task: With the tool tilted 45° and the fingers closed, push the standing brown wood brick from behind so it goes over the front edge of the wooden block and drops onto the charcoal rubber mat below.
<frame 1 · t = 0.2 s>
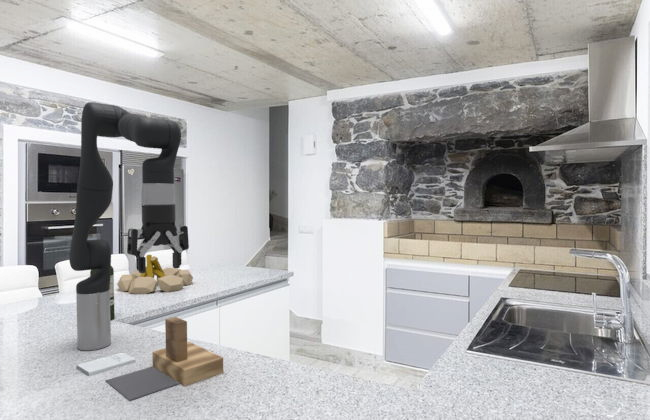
hand: (159, 270, 102), 29 cm above the countertop, tool pointing down, fingers open, 8 cm apart
external hard drive: (106, 367, 118), on the countertop
brown wood brick: (176, 357, 113), point 4 cm above the countertop, touching wooden block
campfire: (156, 287, 220), on the countertop
mat: (142, 382, 107), on the countertop
wooden block: (187, 369, 115), on the countertop
wine bottle: (103, 320, 162), on the countertop
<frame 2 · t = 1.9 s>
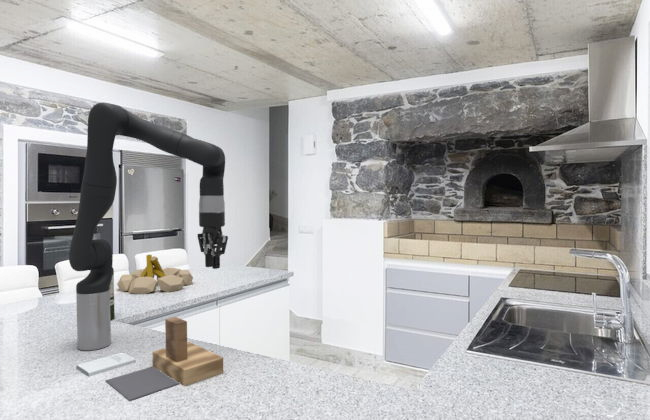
hand: (212, 267, 129), 25 cm above the countertop, tool pointing down, fingers open, 3 cm apart
nothing on the countertop moved.
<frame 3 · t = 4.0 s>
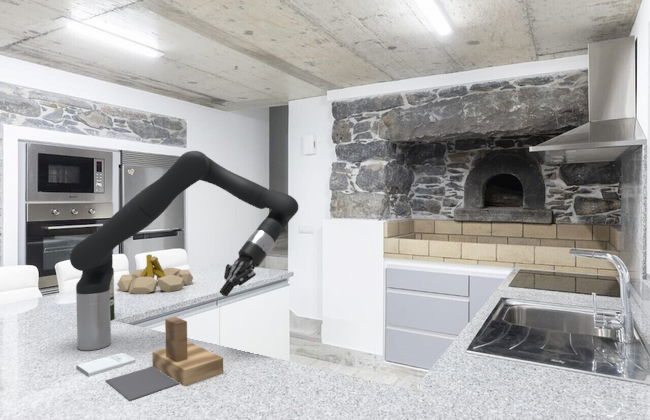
hand: (222, 294, 123), 18 cm above the countertop, tool tilted 45°, fingers closed
nothing on the countertop moved.
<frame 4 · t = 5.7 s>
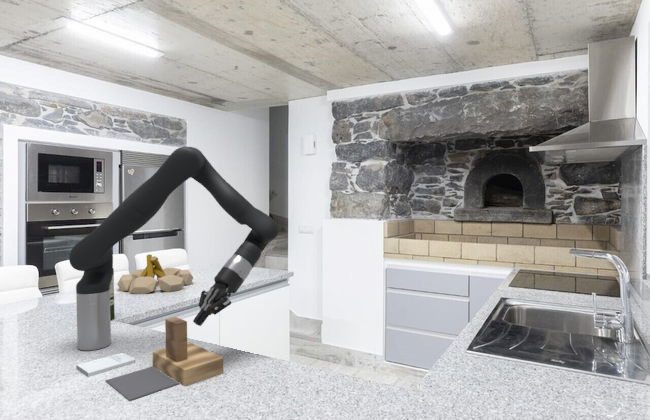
hand: (196, 323, 117), 12 cm above the countertop, tool tilted 45°, fingers closed
nothing on the countertop moved.
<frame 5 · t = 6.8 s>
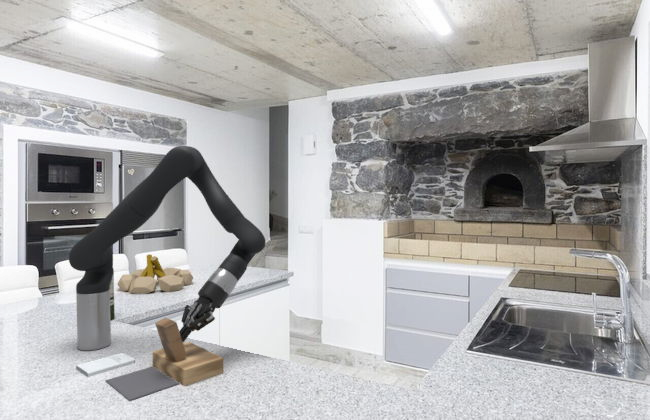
hand: (178, 340, 113), 8 cm above the countertop, tool tilted 45°, fingers closed
brown wood brick: (176, 356, 113), point 4 cm above the countertop, tilted 16°, touching wooden block
everything else where it was.
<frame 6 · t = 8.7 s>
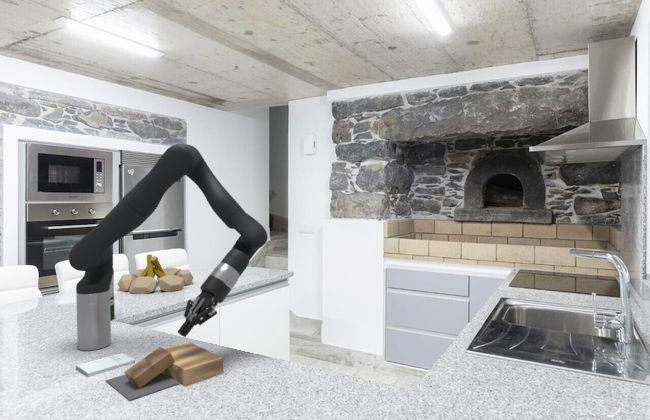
hand: (181, 334, 114), 10 cm above the countertop, tool tilted 45°, fingers closed
brown wood brick: (167, 354, 111), point 6 cm above the countertop, tilted 113°, touching wooden block, mat
everything else where it was.
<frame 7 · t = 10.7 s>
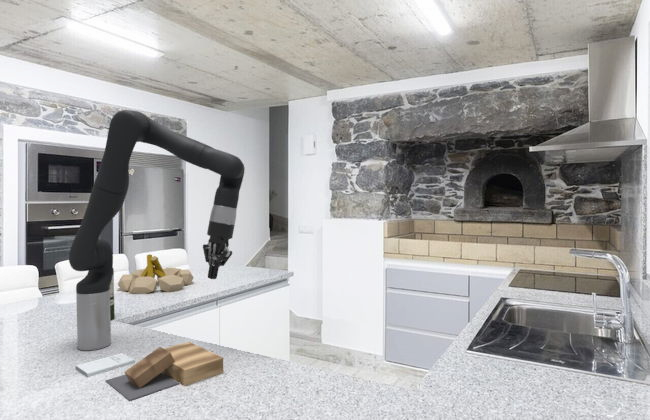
hand: (211, 278, 128), 22 cm above the countertop, tool pointing down, fingers closed
nothing on the countertop moved.
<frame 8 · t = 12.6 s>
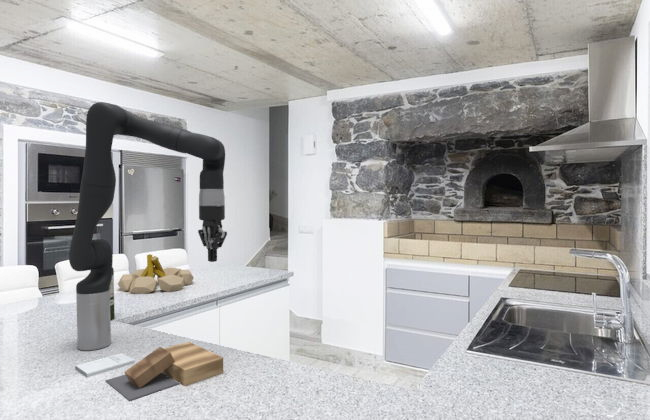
hand: (212, 261, 129), 27 cm above the countertop, tool pointing down, fingers closed
nothing on the countertop moved.
at the end: brown wood brick tilted 113°; brown wood brick inside the target area (7.0 cm from its centre), point 5.6 cm above the countertop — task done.
